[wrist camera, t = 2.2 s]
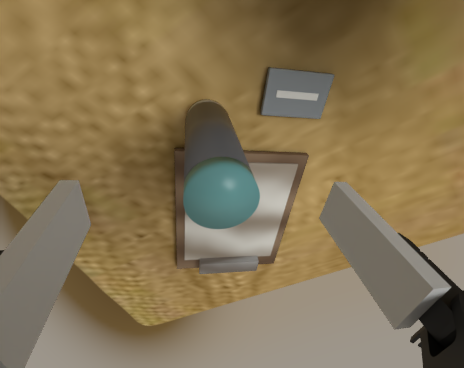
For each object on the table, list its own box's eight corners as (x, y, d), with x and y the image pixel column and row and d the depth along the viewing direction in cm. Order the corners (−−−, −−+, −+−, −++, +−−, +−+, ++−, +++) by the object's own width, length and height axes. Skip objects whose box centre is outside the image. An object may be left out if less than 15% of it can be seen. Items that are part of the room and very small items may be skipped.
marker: (185, 96, 21) (183, 167, 11) (230, 100, 22) (266, 169, 12) (185, 139, 23) (183, 230, 13) (226, 140, 24) (253, 228, 14)
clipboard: (174, 148, 23) (173, 156, 22) (306, 152, 26) (313, 161, 25) (177, 265, 33) (176, 276, 32) (272, 259, 36) (275, 270, 35)
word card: (268, 67, 20) (270, 68, 20) (331, 73, 22) (335, 75, 21) (260, 113, 23) (262, 115, 22) (318, 117, 24) (320, 119, 23)
